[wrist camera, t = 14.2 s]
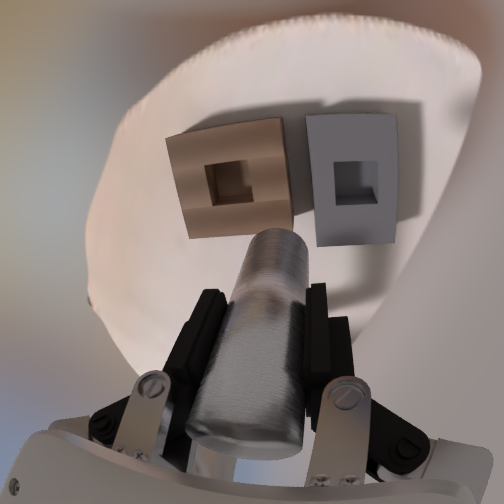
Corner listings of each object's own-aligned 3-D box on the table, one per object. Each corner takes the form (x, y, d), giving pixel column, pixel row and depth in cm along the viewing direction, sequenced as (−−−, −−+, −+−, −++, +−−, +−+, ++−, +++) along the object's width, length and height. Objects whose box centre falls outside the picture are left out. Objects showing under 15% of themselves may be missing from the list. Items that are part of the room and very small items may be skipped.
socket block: (293, 217, 33) (292, 231, 30) (200, 224, 36) (189, 238, 32) (281, 117, 28) (279, 118, 24) (179, 133, 30) (165, 138, 27)
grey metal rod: (309, 278, 15) (303, 462, 7) (252, 281, 16) (204, 453, 7) (306, 225, 14) (301, 422, 5) (243, 230, 14) (167, 409, 6)
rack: (385, 227, 32) (394, 242, 28) (315, 231, 34) (316, 246, 30) (384, 113, 25) (395, 114, 22) (304, 114, 27) (305, 116, 24)
